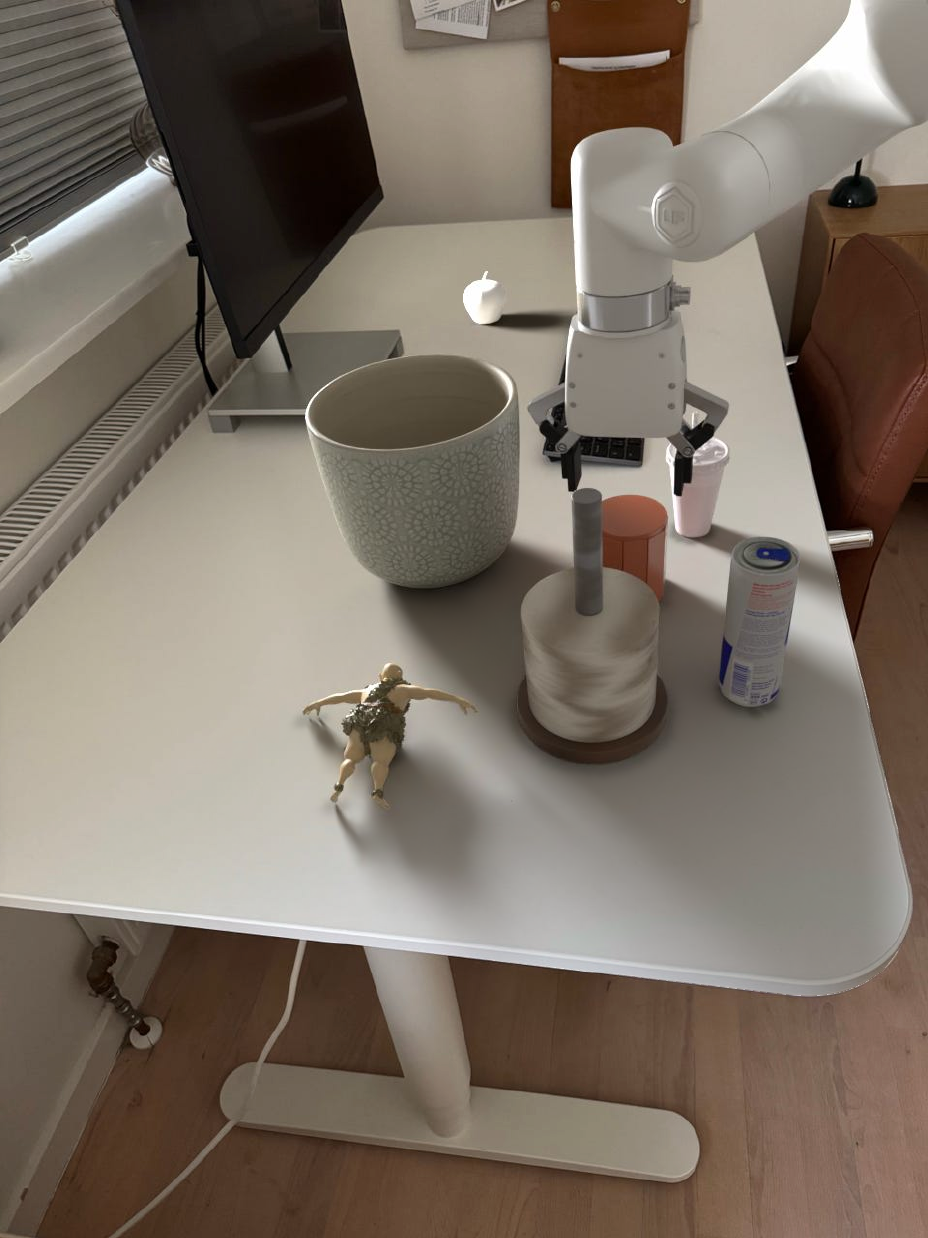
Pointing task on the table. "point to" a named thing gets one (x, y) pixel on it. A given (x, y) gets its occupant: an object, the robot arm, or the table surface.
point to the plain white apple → (485, 300)
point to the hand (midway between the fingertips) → (626, 486)
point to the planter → (421, 465)
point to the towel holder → (591, 654)
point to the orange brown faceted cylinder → (636, 538)
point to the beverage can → (757, 619)
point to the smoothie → (699, 486)
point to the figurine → (378, 723)
